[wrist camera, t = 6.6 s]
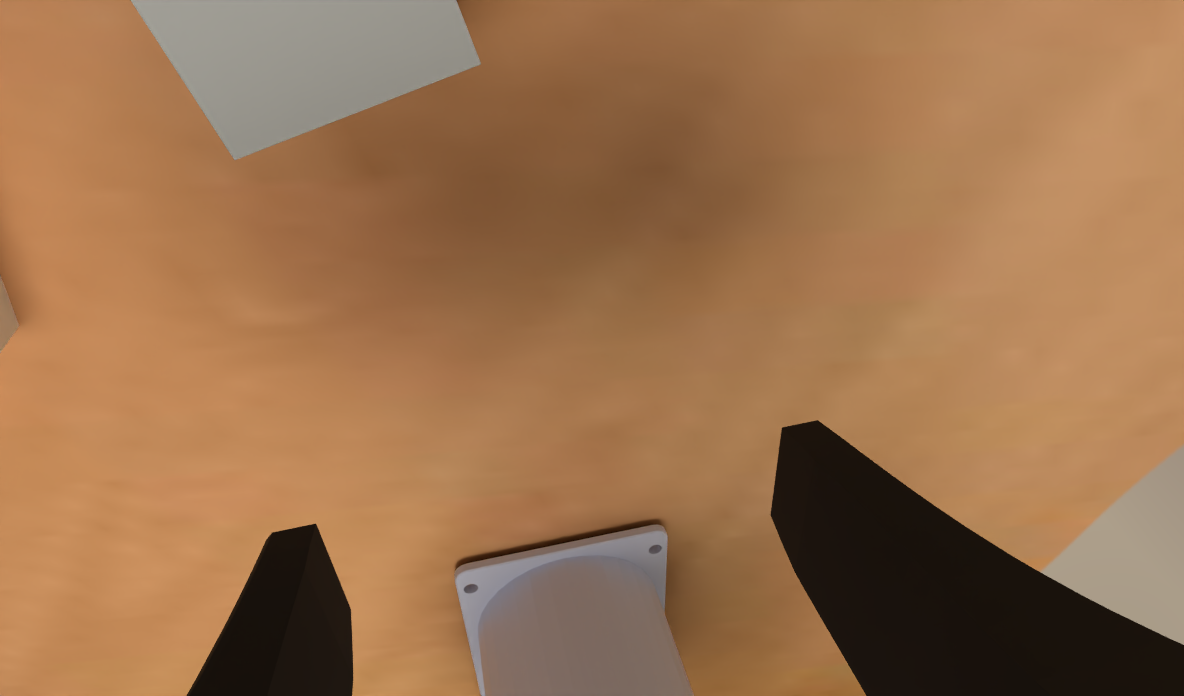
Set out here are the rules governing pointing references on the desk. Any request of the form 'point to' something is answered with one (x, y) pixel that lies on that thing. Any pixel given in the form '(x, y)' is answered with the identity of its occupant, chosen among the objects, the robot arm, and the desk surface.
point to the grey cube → (304, 58)
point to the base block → (6, 317)
